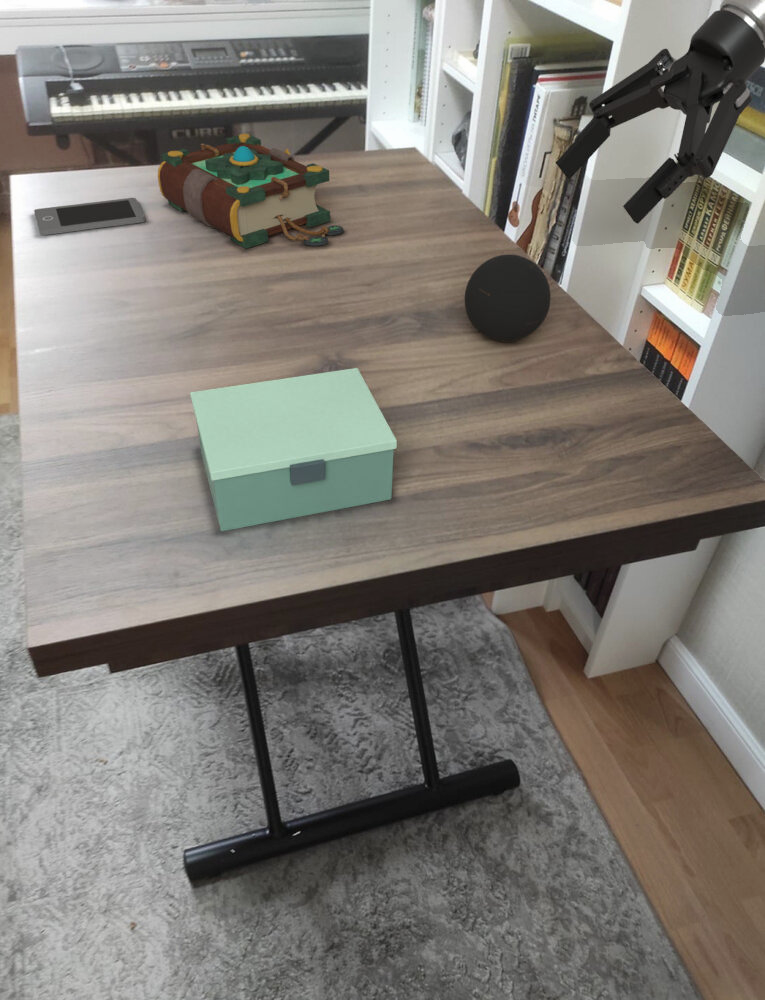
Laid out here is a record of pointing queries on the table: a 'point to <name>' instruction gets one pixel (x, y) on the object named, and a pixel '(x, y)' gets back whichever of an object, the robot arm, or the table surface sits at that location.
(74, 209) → the smartphone
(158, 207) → the table surface
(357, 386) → the box
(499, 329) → the speaker
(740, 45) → the robot arm
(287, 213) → the book
